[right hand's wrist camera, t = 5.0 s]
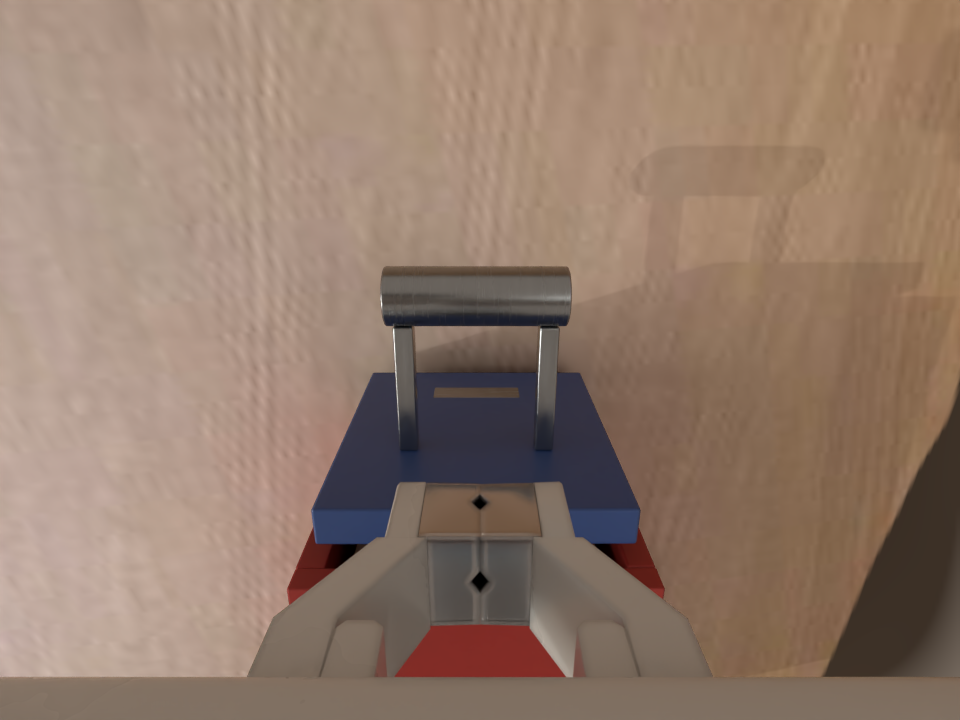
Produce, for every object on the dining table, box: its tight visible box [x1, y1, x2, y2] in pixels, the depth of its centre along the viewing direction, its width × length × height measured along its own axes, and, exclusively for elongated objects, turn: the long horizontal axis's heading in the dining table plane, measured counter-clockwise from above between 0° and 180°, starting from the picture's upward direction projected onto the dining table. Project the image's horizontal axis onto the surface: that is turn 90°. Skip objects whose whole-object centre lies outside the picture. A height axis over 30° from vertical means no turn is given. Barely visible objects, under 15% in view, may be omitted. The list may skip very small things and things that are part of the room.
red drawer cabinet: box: [287, 527, 665, 677], centre depth 24 cm, size 21×10×12 cm, turn 0°
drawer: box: [311, 266, 640, 555], centre depth 22 cm, size 26×9×10 cm, turn 0°
